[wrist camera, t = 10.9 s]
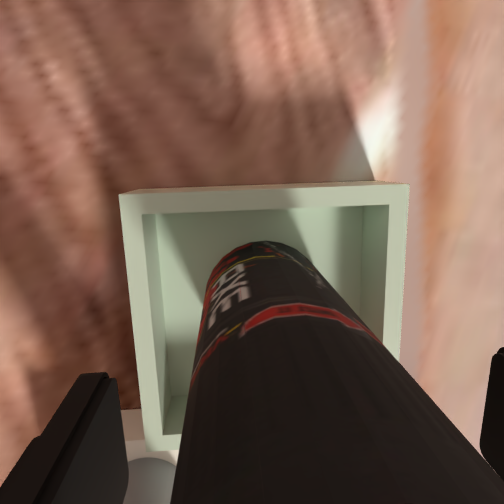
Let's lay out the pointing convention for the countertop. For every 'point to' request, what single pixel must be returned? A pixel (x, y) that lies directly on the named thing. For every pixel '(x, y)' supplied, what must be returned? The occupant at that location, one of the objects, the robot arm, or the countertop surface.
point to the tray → (237, 234)
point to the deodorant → (309, 401)
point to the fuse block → (146, 465)
